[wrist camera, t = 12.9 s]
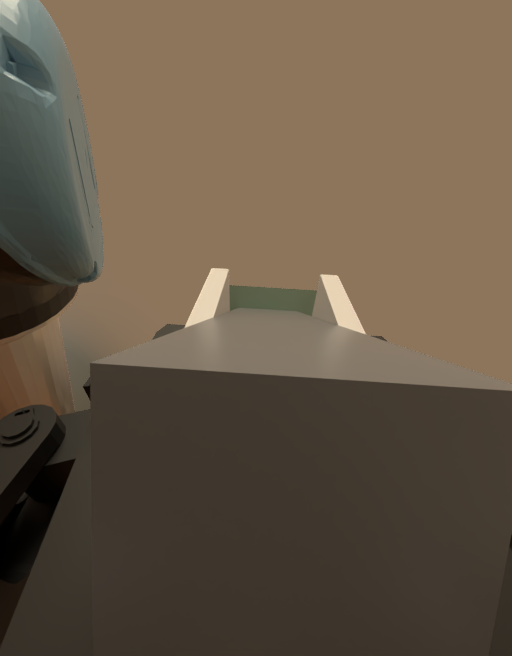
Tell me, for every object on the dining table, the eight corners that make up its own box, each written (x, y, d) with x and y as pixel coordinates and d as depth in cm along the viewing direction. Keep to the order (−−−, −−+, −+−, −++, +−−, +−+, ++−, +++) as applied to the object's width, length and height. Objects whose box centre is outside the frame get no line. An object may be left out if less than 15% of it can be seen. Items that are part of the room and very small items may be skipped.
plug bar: (226, 346, 25) (229, 288, 24) (300, 351, 25) (305, 292, 24) (-43, 714, 3) (-86, 178, 2) (615, 771, 3) (758, 225, 2)
